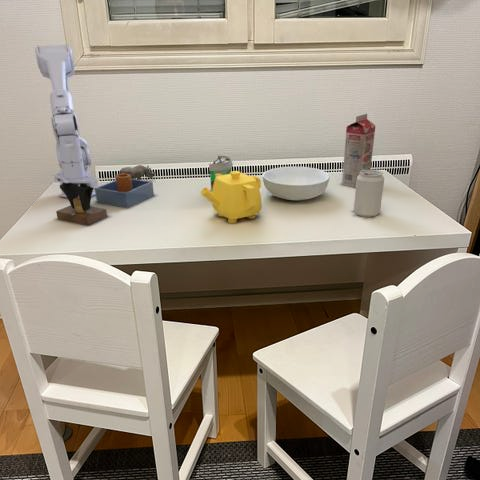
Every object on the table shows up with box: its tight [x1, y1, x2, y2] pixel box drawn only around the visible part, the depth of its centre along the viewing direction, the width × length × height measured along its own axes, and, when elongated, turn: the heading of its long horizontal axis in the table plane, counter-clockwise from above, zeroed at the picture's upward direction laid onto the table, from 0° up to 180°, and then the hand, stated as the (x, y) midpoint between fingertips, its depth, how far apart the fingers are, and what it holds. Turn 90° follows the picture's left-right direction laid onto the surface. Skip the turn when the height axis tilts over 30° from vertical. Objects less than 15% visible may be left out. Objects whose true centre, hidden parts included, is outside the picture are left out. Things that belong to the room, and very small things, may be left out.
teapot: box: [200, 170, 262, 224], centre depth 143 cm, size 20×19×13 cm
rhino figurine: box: [118, 164, 157, 180], centre depth 177 cm, size 4×14×6 cm, turn 119°
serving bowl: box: [262, 166, 331, 202], centre depth 159 cm, size 21×21×7 cm
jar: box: [114, 173, 132, 192], centre depth 160 cm, size 5×5×7 cm
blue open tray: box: [94, 178, 155, 209], centre depth 161 cm, size 12×13×5 cm
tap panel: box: [55, 204, 108, 226], centre depth 147 cm, size 12×9×3 cm
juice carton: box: [341, 113, 376, 188], centre depth 166 cm, size 7×7×22 cm
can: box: [353, 169, 385, 218], centre depth 143 cm, size 8×8×12 cm
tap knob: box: [73, 198, 88, 213], centre depth 145 cm, size 4×4×4 cm
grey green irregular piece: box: [208, 154, 234, 192], centre depth 166 cm, size 12×6×10 cm, turn 168°
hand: (81, 208), depth 145 cm, fingers closed on tap knob, 3 cm apart
